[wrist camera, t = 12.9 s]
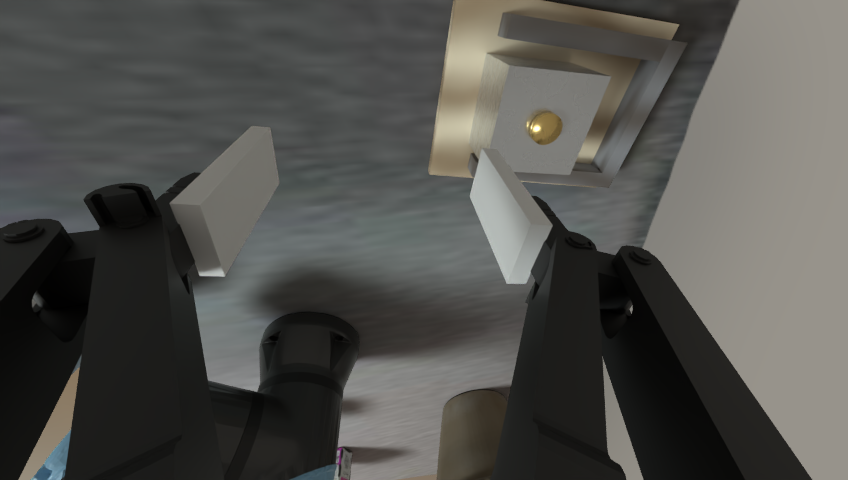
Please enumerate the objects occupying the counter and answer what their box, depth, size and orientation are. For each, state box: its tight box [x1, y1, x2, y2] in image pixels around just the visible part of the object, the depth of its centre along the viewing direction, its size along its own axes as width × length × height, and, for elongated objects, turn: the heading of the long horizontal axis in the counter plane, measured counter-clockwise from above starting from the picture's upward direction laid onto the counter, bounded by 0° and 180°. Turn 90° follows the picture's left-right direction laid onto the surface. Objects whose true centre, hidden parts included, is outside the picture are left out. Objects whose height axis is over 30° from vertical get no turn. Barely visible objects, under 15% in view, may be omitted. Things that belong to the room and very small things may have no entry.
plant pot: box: [437, 390, 508, 480], centre depth 63 cm, size 25×25×22 cm
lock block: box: [469, 53, 611, 175], centre depth 27 cm, size 8×8×7 cm
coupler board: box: [428, 0, 688, 188], centre depth 30 cm, size 16×20×4 cm
